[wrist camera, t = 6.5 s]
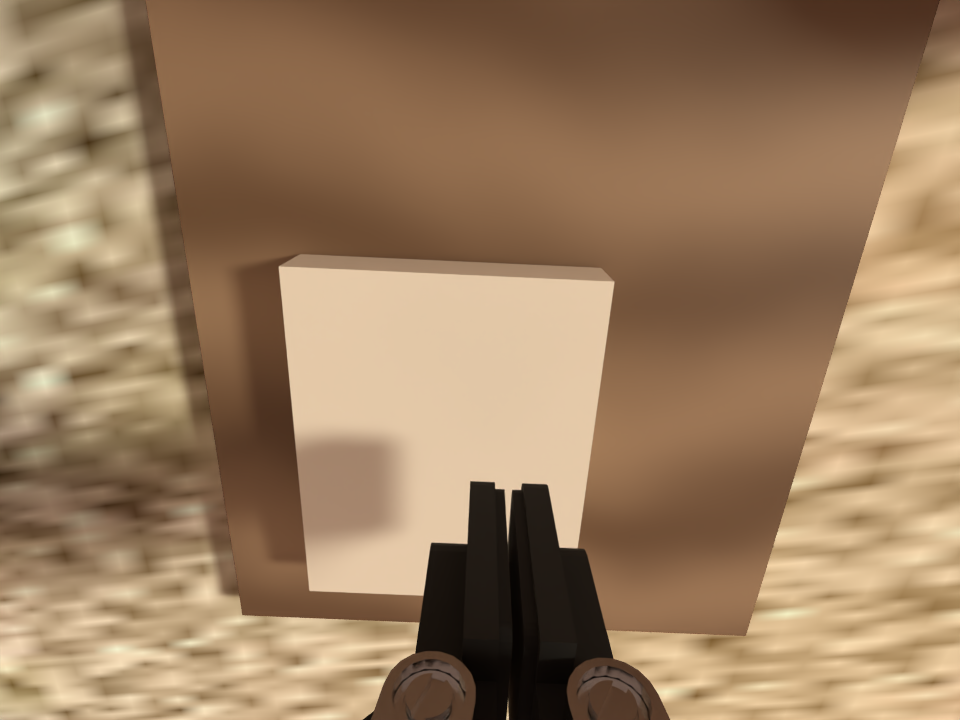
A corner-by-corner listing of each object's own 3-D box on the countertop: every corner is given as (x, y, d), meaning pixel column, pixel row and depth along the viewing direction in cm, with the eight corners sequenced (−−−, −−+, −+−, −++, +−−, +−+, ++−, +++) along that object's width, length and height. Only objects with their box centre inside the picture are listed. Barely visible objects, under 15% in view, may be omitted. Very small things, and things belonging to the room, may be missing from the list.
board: (112, -421, 11) (68, -488, 10) (1010, -372, 11) (1071, -432, 10) (256, 589, 20) (242, 615, 19) (731, 609, 20) (745, 635, 19)
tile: (600, 266, 14) (301, 253, 14) (614, 281, 13) (278, 266, 13) (562, 561, 18) (325, 551, 18) (570, 601, 16) (309, 590, 16)
